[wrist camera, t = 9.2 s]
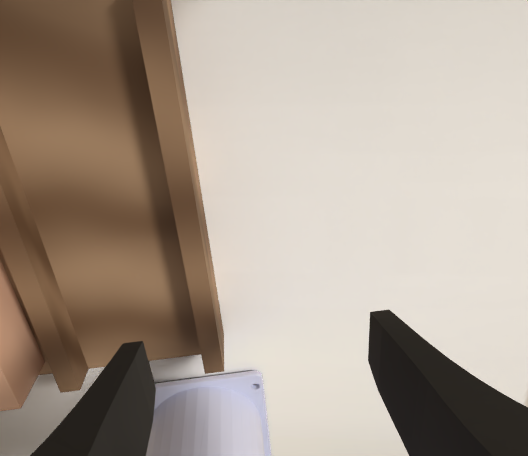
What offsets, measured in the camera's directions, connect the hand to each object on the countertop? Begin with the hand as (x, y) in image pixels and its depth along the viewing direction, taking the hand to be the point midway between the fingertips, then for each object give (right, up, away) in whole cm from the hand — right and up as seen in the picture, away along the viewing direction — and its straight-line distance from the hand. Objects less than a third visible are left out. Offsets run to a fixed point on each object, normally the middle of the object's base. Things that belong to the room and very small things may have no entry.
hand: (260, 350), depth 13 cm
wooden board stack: (-11, +5, +7) cm, 14 cm away
